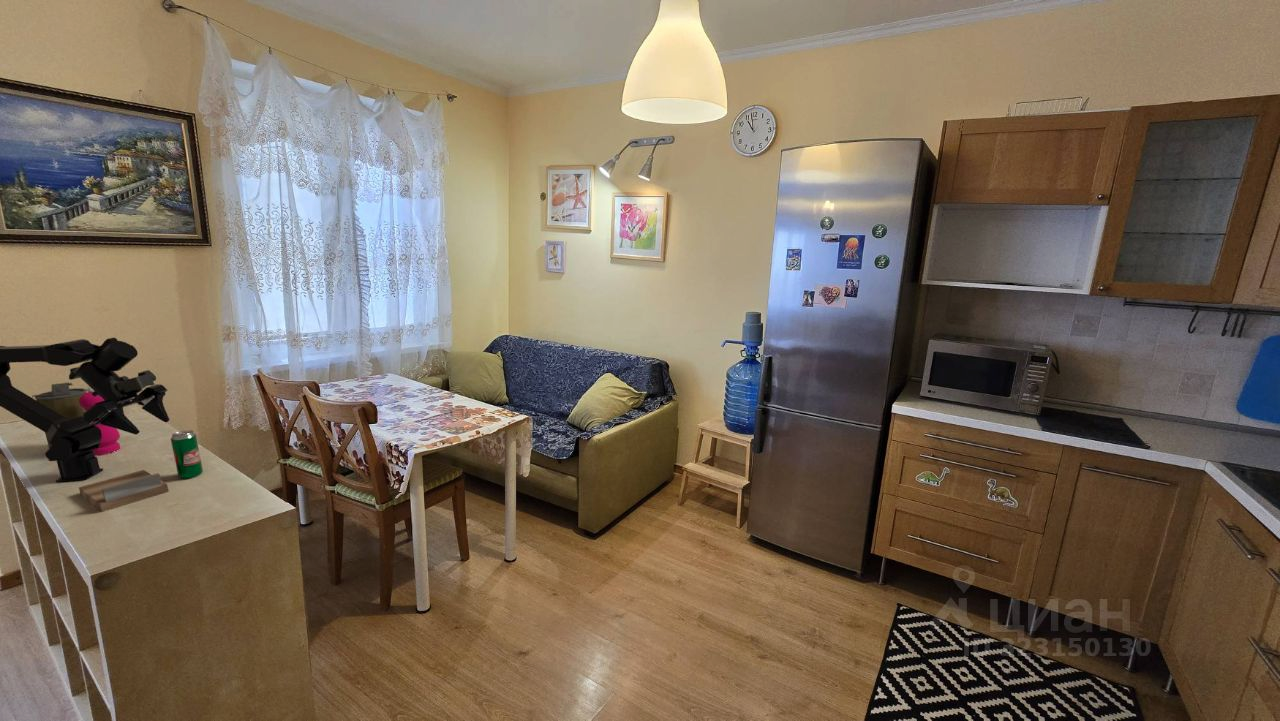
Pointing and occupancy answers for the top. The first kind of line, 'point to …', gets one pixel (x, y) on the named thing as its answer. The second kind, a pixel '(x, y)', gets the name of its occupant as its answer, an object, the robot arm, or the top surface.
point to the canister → (63, 401)
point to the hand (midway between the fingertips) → (153, 427)
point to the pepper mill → (101, 426)
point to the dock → (123, 489)
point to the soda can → (186, 454)
